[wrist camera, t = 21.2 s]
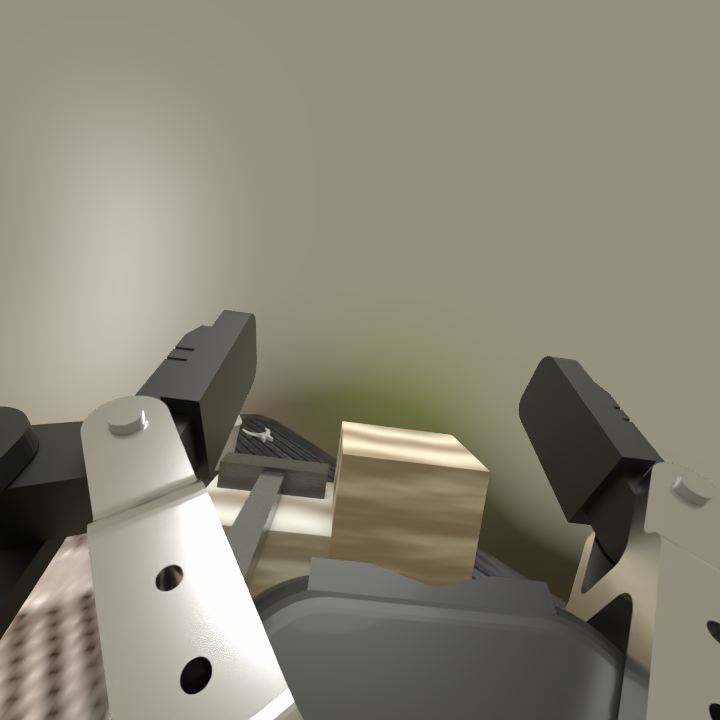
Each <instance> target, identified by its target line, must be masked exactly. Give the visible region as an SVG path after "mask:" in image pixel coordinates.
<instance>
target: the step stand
mask: <svg viewBox="0 0 720 720" xmlns="http://www.w3.org/2000/svg"><path fill="white" fill-rule="evenodd" d="M489 474H490V471H489V470H488V469H486V467H485V466H483V465H482V464H481V463H480V462H479V461H478V460H477V459H476V458H475V457H474V456H473V455H472V454H471V453H470V452H469V451H468V450H467V449H466V448H465V447H464V446H463V445H462V444H461V443H459V442H458V441H457V440H456V439H455V438H454V437H453V436H452V435H446V434H439V433H431V432H422V431H415V430H407V429H399V428H391V427H384V426H375V425H368V424H360V423H351V422H342V428H341V436H340V442H339V450H338V457H337V464H336V471H335V478H334V483H329V482H327V483H326V490H325V497H324V499H316V498H307V497H299V496H290V495H282V497H281V499H280V502H279V505H278V508H277V511H276V514H275V516H274V519H273V522H272V525H271V528H270V530H269V533H268V536H267V539H266V542H265V545H264V547H263V550H262V553H261V556H260V559H259V561H258V564H257V567H256V570H255V573H254V576H253V578H252V581H251V584H250V587H249V590H248V591H249V594H250V596H251V599H252V598H253V597H255V596H257V595H258V594H260V593H261V592H263V591H265V590H266V589H268V588H270V587H272V586H274V585H277V584H279V583H281V582H284V581H287V580H290V579H293V578H296V577H301V576H306V575H309V574H310V567H311V560H312V557H316V558H325V559H334V560H344V561H353V562H362V563H371V564H374V565H376V566H379V567H381V568H384V569H387V570H389V571H392V572H394V573H397V574H400V575H402V576H405V577H407V578H410V579H413V580H415V581H418V582H420V583H423V584H426V585H429V586H443V585H448V584H453V583H458V582H463V581H468V580H471V578H472V573H473V567H474V561H475V555H476V550H477V544H478V538H479V532H480V526H481V521H482V515H483V509H484V503H485V497H486V492H487V486H488V480H489ZM217 482H218V475H217V476H216V477H215V478H214V480H213V481H212V482H211V483H210V484H209V485H208V487H207V488H206V490H207V492H208V495H209V497H210V499H211V502H212V504H213V507H214V509H215V512H216V514H217V516H218V519H219V521H220V524H221V526H222V528H223V531H224V533H225V536H227V534H228V532H229V530H230V528H231V527H232V525H233V523H234V521H235V519H236V518H237V516H238V514H239V512H240V510H241V509H242V507H243V505H244V503H245V501H246V500H247V498H248V496H249V494H250V492H251V491H245V490H236V489H227V488H218V487H217Z"/></svg>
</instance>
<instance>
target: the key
mask: <svg viewBox="0 0 720 720" xmlns="http://www.w3.org/2000/svg"><path fill="white" fill-rule="evenodd" d="M328 465H329V464H323V463H315V462H307V461H298V460H290V459H281V458H273V457H264V456H256V455H247V454H239V453H230V452H228V453H227V454H226V455H225V456H224V457H223V458H222V460H221V461H220V465H219V473H218V482H217V487H218V488H227V489H236V490H245V491H251V492H250V494H249V496H248V498H247V500H246V501H245V503H244V505H243V507H242V509H241V510H240V512H239V514H238V516H237V518H236V519H235V521H234V523H233V525H232V527H231V528H230V530H229V532H228V534H227V536H226V538H227V541H228V543H229V545H230V548H231V550H232V553H233V555H234V558H235V560H236V562H237V565H238V567H239V570H240V572H241V574H242V577H243V579H244V582H245V584H246V587H247V589H248V590H249V587H250V584H251V581H252V578H253V576H254V573H255V570H256V567H257V564H258V561H259V559H260V556H261V553H262V550H263V547H264V545H265V542H266V539H267V536H268V533H269V530H270V528H271V525H272V522H273V519H274V516H275V514H276V511H277V508H278V505H279V502H280V499H281V497H282V495H290V496H299V497H307V498H316V499H324V497H325V490H326V483H327V475H328Z"/></svg>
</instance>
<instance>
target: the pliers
mask: <svg viewBox="0 0 720 720" xmlns="http://www.w3.org/2000/svg"><path fill="white" fill-rule="evenodd" d="M265 430H266V431H267V432H263V433H262V434H261V433H260V434H258V433H252V432H248V431H246V430H245V429H243V431H244V432H245V433H247V434H249V435H252V436H256V437H261V440H262V441H263V442H265V440H266V439H267V440H269V441H271V442H272V441H273V438H272V437H271V436H270V430H269V429H267V428H265ZM264 433H266V434H264Z"/></svg>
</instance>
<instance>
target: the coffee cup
mask: <svg viewBox="0 0 720 720" xmlns="http://www.w3.org/2000/svg"><path fill="white" fill-rule="evenodd" d="M241 424H242V420H241V418H240V415H239V416H238V418H237V420H236V423H235V425H234V427H233V429H232V432H231V434H230V436H229V438H228V441H227V443H226V445H225V448H224V450H223V452H222V454H221V457H220V459H219V461H218V463H217V466H216V468H215V470H217V471H219V465H220V461H221V460H222V458H223V457H224V456H225V455H226V454H227V453H228V452H230V453H234V450H235V446H236V441H237V436H238V431H239V427H240V425H241Z"/></svg>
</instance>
